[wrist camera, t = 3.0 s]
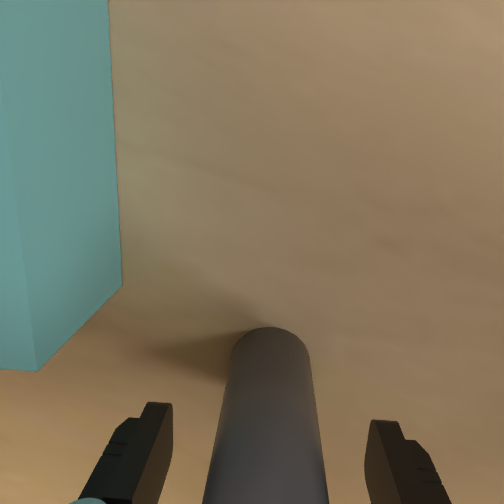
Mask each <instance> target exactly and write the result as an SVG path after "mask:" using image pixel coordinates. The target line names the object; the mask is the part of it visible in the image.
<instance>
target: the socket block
mask: <svg viewBox="0 0 504 504" xmlns="http://www.w3.org/2000/svg"><path fill="white" fill-rule="evenodd" d="M121 286H122V268H121V249H120V230H119V210H118V191H117V172H116V152H115V133H114V114H113V94H112V75H111V56H110V36H109V17H108V0H0V369H8V370H22V371H35V372H37V371H38V370H39V369H40V368H41V367H42V366H43V365H44V364H45V363H46V362H47V361H48V360H49V359H50V358H51V357H52V356H53V355H54V354H55V353H56V352H57V351H58V350H59V349H60V348H61V347H62V346H63V345H64V344H65V343H66V342H67V341H68V340H69V339H70V338H71V337H72V336H73V335H74V334H75V333H76V332H77V331H78V330H79V329H80V328H81V327H82V326H83V325H84V324H85V323H86V322H87V321H88V320H89V319H90V318H91V317H92V316H93V315H94V314H95V313H96V312H97V311H98V310H99V309H100V308H101V307H102V306H103V304H104V303H105V302H106V301H107V300H108V299H109V298H110V297H111V296H112V295H113V294H114V293H115V292H116V291H117V290H118V289H119V288H120V287H121Z"/></svg>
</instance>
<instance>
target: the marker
mask: <svg viewBox="0 0 504 504" xmlns="http://www.w3.org/2000/svg"><path fill="white" fill-rule="evenodd" d="M202 504H329V498H328V490H327V483H326V476H325V468H324V461H323V454H322V446H321V439H320V432H319V425H318V417H317V410H316V403H315V395H314V388H313V381H312V373H311V366H310V359H309V354H308V351H307V349H306V347H305V345H304V344H303V343H302V341H301V340H300V339H299V338H298V337H296V336H295V335H294V334H292V333H290V332H288V331H286V330H283V329H279V328H260V329H257V330H254V331H251V332H250V333H248V334H246V335H245V336H244V337H242V338H241V339H240V340H239V342H238V343H237V344H236V346H235V348H234V350H233V353H232V358H231V363H230V368H229V373H228V378H227V383H226V387H225V392H224V397H223V402H222V407H221V412H220V417H219V422H218V427H217V432H216V437H215V442H214V447H213V452H212V457H211V462H210V467H209V472H208V477H207V481H206V486H205V491H204V496H203V501H202Z"/></svg>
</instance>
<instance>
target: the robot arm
mask: <svg viewBox="0 0 504 504" xmlns="http://www.w3.org/2000/svg"><path fill="white" fill-rule="evenodd" d="M172 451H173V408H172V404H171V403H159V402H148V403H147V404H146V406H145V408H144V410H143V412H142V414H141V416H140V418H128V419H126V420H125V421H124V422H123V423H122V424H121V425H119V426H118V427H117V428H116V429H115V431H114V433H113V435H112V437H111V439H110V441H109V444H108V445H107V446H106V448H105V450H104V452H103V455H102V456H101V457H100V459H99V461H98V463H97V465H96V467H95V468H94V470H93V472H92V474H91V476H90V478H89V480H88V481H87V483H86V485H85V487H84V489H83V491H82V493H81V494H80V496H79V498H78V500H76V501H73V502H71V503H69V504H158V500H159V497H160V494H161V491H162V488H163V485H164V482H165V479H166V475H167V472H168V469H169V466H170V462H171V458H172ZM364 471H365V480H366V485H367V489H368V493H369V497H370V501H371V504H452V503H451V501H450V499H449V497H448V495H447V492H446V490H445V488H444V486H443V485H442V482H441V480H440V477H439V475H438V473H437V472H436V469H435V467H434V464H433V462H432V460H431V458H430V456H429V454H428V453H427V452H426V451H425V450H424V449H423V448H422V447H421V446H420V444H419V443H418V442H417V441H415V440H405V438H404V436H403V433H402V431H401V428H400V426H399V424H398V422H397V421H387V420H374V419H372V420H371V423H370V428H369V434H368V441H367V447H366V454H365V462H364Z"/></svg>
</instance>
